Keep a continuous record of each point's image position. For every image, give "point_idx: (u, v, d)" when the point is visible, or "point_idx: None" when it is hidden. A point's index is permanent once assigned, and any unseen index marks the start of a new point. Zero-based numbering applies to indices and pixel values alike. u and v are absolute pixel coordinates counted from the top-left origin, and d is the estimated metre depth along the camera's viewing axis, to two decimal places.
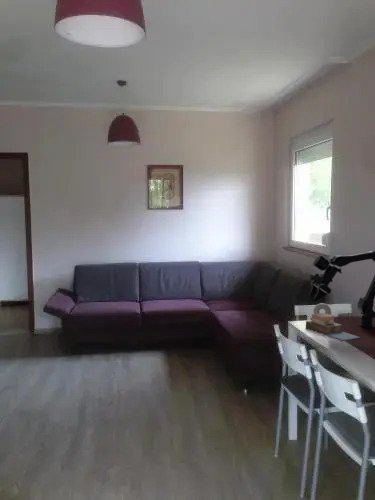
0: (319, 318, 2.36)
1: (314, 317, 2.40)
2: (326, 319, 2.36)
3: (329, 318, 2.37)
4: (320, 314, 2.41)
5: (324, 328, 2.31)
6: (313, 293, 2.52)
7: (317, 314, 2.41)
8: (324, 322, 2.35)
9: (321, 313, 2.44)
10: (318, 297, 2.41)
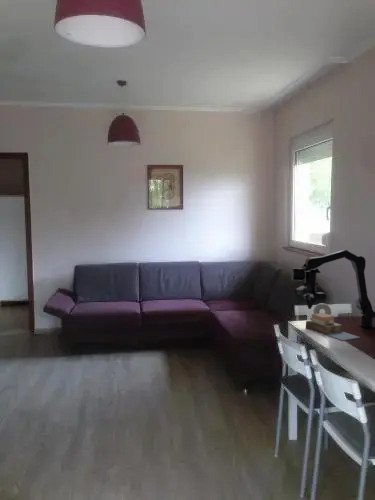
0: (319, 318, 2.36)
1: (314, 317, 2.40)
2: (326, 319, 2.36)
3: (329, 318, 2.37)
4: (320, 314, 2.41)
5: (324, 328, 2.31)
6: None
7: (317, 314, 2.41)
8: (324, 322, 2.35)
9: (321, 313, 2.44)
10: (312, 304, 2.47)
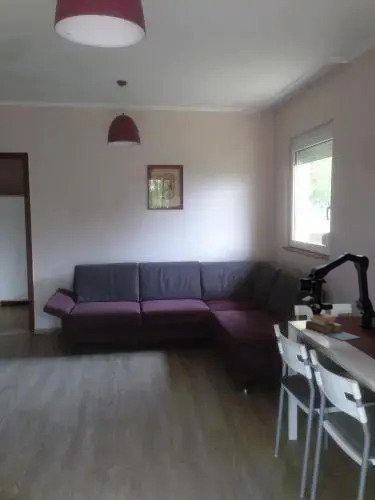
0: (320, 318, 2.35)
1: (315, 317, 2.39)
2: (327, 319, 2.35)
3: (330, 318, 2.36)
4: (321, 314, 2.40)
5: (324, 328, 2.31)
6: (316, 313, 2.45)
7: (318, 314, 2.40)
8: (324, 322, 2.35)
9: (322, 313, 2.43)
10: None
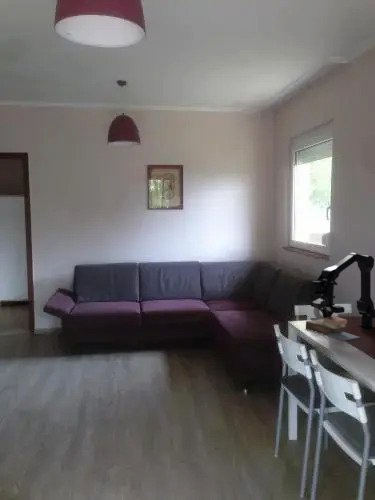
0: (332, 322, 2.28)
1: (326, 321, 2.32)
2: (339, 323, 2.28)
3: (342, 322, 2.29)
4: (333, 318, 2.33)
5: (324, 328, 2.31)
6: (327, 316, 2.38)
7: (329, 318, 2.33)
8: (335, 326, 2.28)
9: (333, 317, 2.36)
10: None
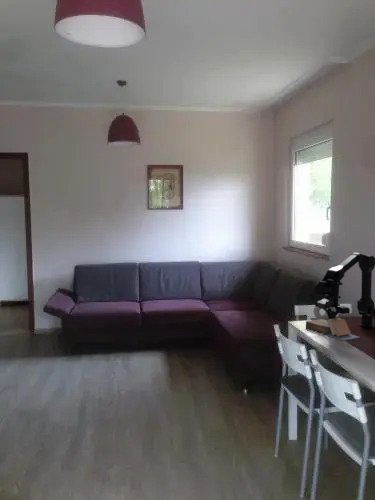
0: (336, 331, 2.26)
1: (333, 325, 2.28)
2: (341, 335, 2.26)
3: (345, 335, 2.27)
4: (340, 323, 2.29)
5: (324, 328, 2.31)
6: None
7: (337, 323, 2.28)
8: None
9: (342, 320, 2.30)
10: (333, 318, 2.34)
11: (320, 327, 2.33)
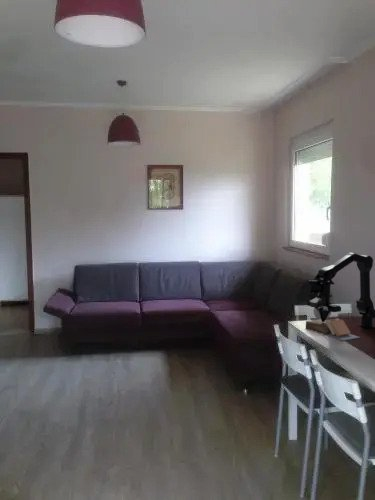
0: (335, 331, 2.26)
1: (332, 325, 2.29)
2: (341, 335, 2.26)
3: (345, 334, 2.27)
4: (339, 324, 2.29)
5: (324, 328, 2.31)
6: None
7: (336, 323, 2.29)
8: None
9: (341, 321, 2.31)
10: (325, 317, 2.38)
11: (320, 327, 2.33)
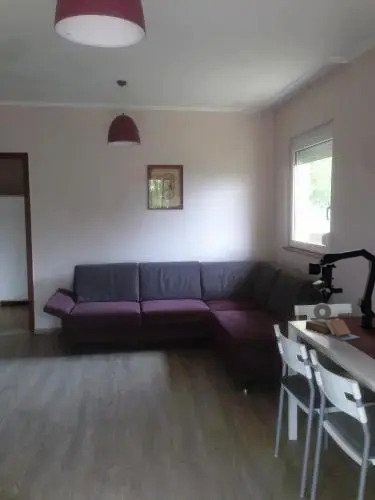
0: (335, 331, 2.26)
1: (332, 325, 2.29)
2: (341, 335, 2.26)
3: (345, 334, 2.27)
4: (339, 324, 2.29)
5: (324, 328, 2.31)
6: None
7: (336, 323, 2.29)
8: None
9: (341, 321, 2.31)
10: (328, 298, 2.50)
11: (320, 327, 2.33)
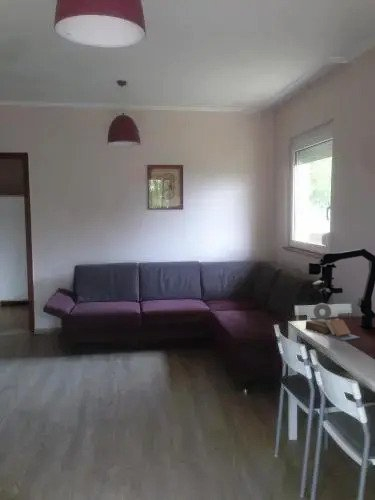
0: (335, 331, 2.26)
1: (332, 325, 2.29)
2: (341, 335, 2.26)
3: (345, 334, 2.27)
4: (339, 324, 2.29)
5: (324, 328, 2.31)
6: None
7: (336, 323, 2.29)
8: None
9: (341, 321, 2.31)
10: (328, 298, 2.50)
11: (320, 327, 2.33)
